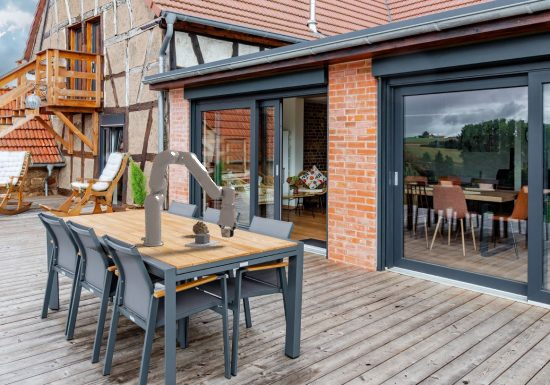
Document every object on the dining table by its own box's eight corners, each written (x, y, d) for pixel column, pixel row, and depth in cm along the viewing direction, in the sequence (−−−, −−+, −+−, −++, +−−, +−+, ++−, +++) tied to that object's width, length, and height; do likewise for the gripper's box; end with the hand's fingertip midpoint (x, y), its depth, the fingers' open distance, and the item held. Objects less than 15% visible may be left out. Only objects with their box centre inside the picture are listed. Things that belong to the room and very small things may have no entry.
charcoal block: (195, 243, 298) (195, 235, 298) (200, 241, 304) (200, 233, 304) (204, 243, 296) (204, 235, 295) (209, 242, 302) (209, 234, 301)
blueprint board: (185, 246, 294) (185, 244, 294) (200, 241, 311) (200, 239, 311) (205, 247, 289) (205, 246, 289) (219, 242, 306) (219, 240, 306)
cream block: (221, 237, 296) (222, 228, 296) (225, 235, 301) (225, 227, 300) (229, 237, 294) (229, 229, 294) (232, 236, 299) (233, 228, 299)
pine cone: (188, 235, 332) (188, 220, 331) (201, 233, 338) (201, 219, 337) (204, 240, 314) (204, 225, 314) (217, 238, 320) (217, 223, 319)
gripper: (213, 206, 295) (212, 235, 297) (238, 208, 289) (237, 238, 291) (218, 205, 302) (218, 234, 304) (243, 207, 296) (242, 236, 298)
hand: (227, 235), depth 297 cm, fingers closed on cream block, 5 cm apart
